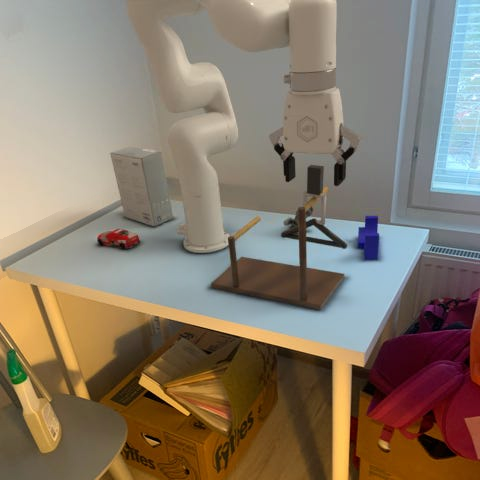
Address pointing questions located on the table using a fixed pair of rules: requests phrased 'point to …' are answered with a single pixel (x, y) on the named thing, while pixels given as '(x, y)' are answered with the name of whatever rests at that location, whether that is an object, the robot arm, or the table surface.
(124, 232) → the race car
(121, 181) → the hard drive box
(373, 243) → the cable clip
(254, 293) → the rack
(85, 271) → the table surface
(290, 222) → the eagle figurine
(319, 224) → the hanger
